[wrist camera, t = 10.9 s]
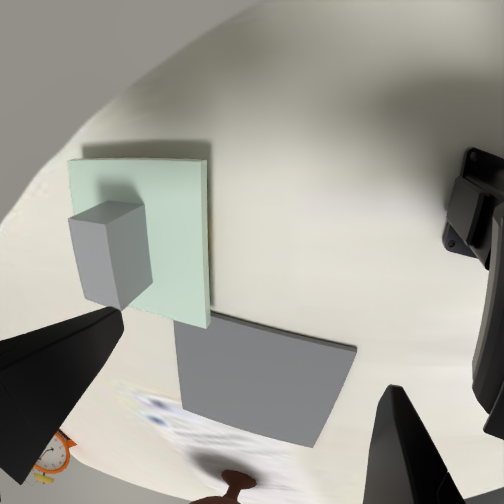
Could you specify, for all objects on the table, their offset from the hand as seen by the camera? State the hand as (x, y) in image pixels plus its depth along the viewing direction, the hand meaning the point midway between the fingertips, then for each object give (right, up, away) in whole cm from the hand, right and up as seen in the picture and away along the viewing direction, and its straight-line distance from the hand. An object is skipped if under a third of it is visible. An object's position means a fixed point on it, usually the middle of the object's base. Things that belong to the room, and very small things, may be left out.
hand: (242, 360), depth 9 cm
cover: (-8, +4, +13) cm, 16 cm away
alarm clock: (-52, -46, +53) cm, 87 cm away
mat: (0, -9, +18) cm, 20 cm away
